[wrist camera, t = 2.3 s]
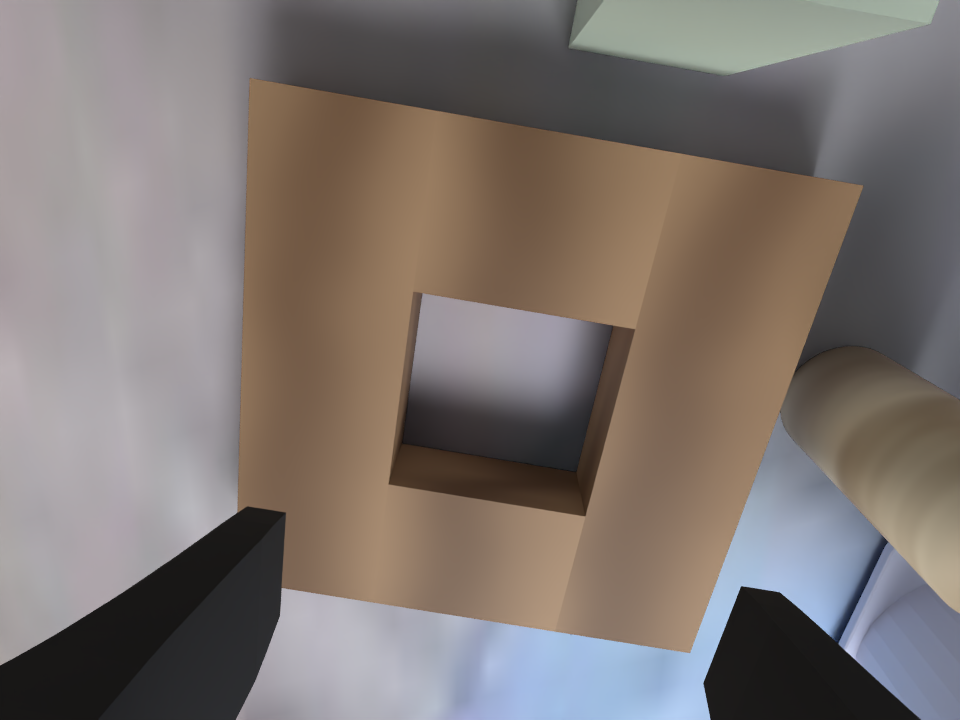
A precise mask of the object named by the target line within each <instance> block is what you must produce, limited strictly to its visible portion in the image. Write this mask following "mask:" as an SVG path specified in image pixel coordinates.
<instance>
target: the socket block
mask: <svg viewBox="0 0 960 720" xmlns="http://www.w3.org/2000/svg"><path fill="white" fill-rule="evenodd" d="M862 189H863V186H862V185H857V184H851V183H845V182H840V181H834V180H828V179H823V178H817V177H811V176H805V175H800V174H794V173H788V172H783V171H777V170H771V169H766V168H760V167H754V166H748V165H743V164H737V163H731V162H726V161H720V160H714V159H708V158H703V157H697V156H691V155H686V154H680V153H674V152H669V151H663V150H657V149H651V148H646V147H640V146H634V145H629V144H623V143H617V142H612V141H606V140H600V139H594V138H589V137H583V136H577V135H572V134H566V133H560V132H554V131H549V130H543V129H537V128H532V127H526V126H520V125H515V124H509V123H503V122H497V121H492V120H486V119H480V118H475V117H469V116H463V115H458V114H452V113H446V112H440V111H435V110H429V109H423V108H418V107H412V106H406V105H401V104H395V103H389V102H383V101H378V100H372V99H366V98H361V97H355V96H349V95H343V94H338V93H332V92H326V91H321V90H315V89H309V88H304V87H298V86H292V85H286V84H281V83H275V82H269V81H264V80H258V79H252V78H250V86H249V121H248V157H247V192H246V228H245V263H244V299H243V335H242V370H241V406H240V441H239V477H238V512H239V511H241V510H242V509H244V508H245V507H247V506H249V507H255V508H262V509H268V510H274V511H280V512H286V523H285V539H284V556H283V572H282V588H286V589H292V590H298V591H305V592H311V593H317V594H323V595H330V596H336V597H342V598H348V599H355V600H361V601H367V602H373V603H380V604H386V605H392V606H399V607H405V608H411V609H417V610H424V611H430V612H436V613H442V614H449V615H455V616H461V617H467V618H474V619H480V620H486V621H492V622H499V623H505V624H511V625H518V626H524V627H530V628H536V629H543V630H549V631H555V632H561V633H568V634H574V635H580V636H586V637H593V638H599V639H605V640H611V641H618V642H624V643H630V644H637V645H643V646H649V647H655V648H662V649H668V650H674V651H680V652H687V653H690V651H691V649H692V646H693V643H694V641H695V638H696V635H697V633H698V630H699V627H700V625H701V622H702V619H703V616H704V614H705V611H706V608H707V606H708V603H709V600H710V598H711V595H712V592H713V590H714V587H715V584H716V581H717V579H718V576H719V573H720V571H721V568H722V565H723V563H724V560H725V557H726V555H727V552H728V549H729V547H730V544H731V541H732V538H733V536H734V533H735V530H736V528H737V525H738V522H739V520H740V517H741V514H742V512H743V509H744V506H745V503H746V501H747V498H748V495H749V493H750V490H751V487H752V485H753V482H754V479H755V477H756V474H757V471H758V469H759V466H760V463H761V460H762V458H763V455H764V452H765V450H766V447H767V444H768V442H769V439H770V436H771V434H772V431H773V428H774V425H775V423H776V420H777V417H778V415H779V412H780V409H781V407H782V404H783V401H784V399H785V396H786V393H787V391H788V388H789V385H790V382H791V380H792V377H793V374H794V372H795V369H796V366H797V364H798V361H799V358H800V356H801V353H802V350H803V347H804V345H805V342H806V339H807V337H808V334H809V331H810V329H811V326H812V323H813V321H814V318H815V315H816V313H817V310H818V307H819V304H820V302H821V299H822V296H823V294H824V291H825V288H826V286H827V283H828V280H829V278H830V275H831V272H832V269H833V267H834V264H835V261H836V259H837V256H838V253H839V251H840V248H841V245H842V243H843V240H844V237H845V235H846V232H847V229H848V226H849V224H850V221H851V218H852V216H853V213H854V210H855V208H856V205H857V202H858V200H859V197H860V194H861V191H862ZM422 293H425V294H430V295H436V296H442V297H448V298H454V299H460V300H466V301H472V302H478V303H484V304H489V305H495V306H501V307H507V308H513V309H519V310H525V311H531V312H537V313H543V314H548V315H554V316H560V317H566V318H572V319H578V320H584V321H590V322H596V323H602V324H607V325H613V329H612V333H611V337H610V341H609V345H608V349H607V353H606V357H605V361H604V365H603V369H602V373H601V377H600V381H599V385H598V389H597V392H596V396H595V400H594V404H593V408H592V412H591V416H590V420H589V424H588V428H587V432H586V436H585V440H584V444H583V448H582V452H581V456H580V460H579V464H578V468H577V472H572V471H565V470H559V469H553V468H547V467H541V466H535V465H529V464H523V463H517V462H511V461H505V460H499V459H493V458H487V457H481V456H474V455H468V454H462V453H456V452H450V451H444V450H438V449H432V448H426V447H420V446H414V445H408V444H402V440H403V433H404V425H405V418H406V411H407V403H408V396H409V388H410V381H411V373H412V366H413V358H414V351H415V343H416V336H417V328H418V321H419V313H420V306H421V299H422ZM238 512H237V513H238Z"/></svg>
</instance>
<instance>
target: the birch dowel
mask: <svg viewBox="0 0 960 720" xmlns="http://www.w3.org/2000/svg"><path fill="white" fill-rule="evenodd" d="M781 419H782V422H783V425H784V427H785V429H786V431H787V433H788V434H789V435H790V437H791V438H792V439H793V440H794V441H795V442H796V443H797V444H798V445H799V446H800V448H801V449H802V450H803V451H804V452H805V453H806V454H807V455H808V456H809V457H810V458H811V459H812V460H813V461H814V463H815V464H816V465H817V466H818V467H819V468H820V469H821V470H822V471H823V472H824V473H825V474H826V475H827V476H828V478H829V479H830V480H831V481H832V482H833V483H834V484H835V485H836V486H837V487H838V488H839V489H840V490H841V492H842V493H843V494H844V495H845V496H846V497H847V498H848V499H849V500H850V501H851V502H852V503H853V504H854V505H855V507H856V508H857V509H858V510H859V511H860V512H861V513H862V514H863V515H864V516H865V517H866V518H867V519H868V520H869V522H870V523H871V524H872V525H873V526H874V527H875V528H876V529H877V530H878V531H879V532H880V533H881V534H882V536H883V537H884V538H885V539H886V540H887V541H888V542H889V543H890V544H891V545H892V546H893V547H894V548H895V549H896V551H897V552H898V553H899V554H900V555H901V556H902V557H903V558H904V559H905V560H906V561H907V562H908V563H909V564H910V566H911V567H912V568H913V569H914V570H915V571H916V572H917V573H918V574H919V575H920V576H921V577H922V578H923V579H924V581H925V582H926V583H927V584H928V585H929V586H930V587H931V588H932V589H933V590H934V591H935V592H936V593H937V595H938V596H939V597H940V598H941V599H942V600H943V601H944V602H945V603H946V604H947V605H948V606H949V607H951V608H952V609H954V610H955V611H956V612H958V613H960V400H959V399H957V398H956V397H954V396H952V395H951V394H949V393H947V392H945V391H944V390H942V389H940V388H939V387H937V386H935V385H934V384H932V383H930V382H929V381H927V380H925V379H923V378H922V377H920V376H918V375H917V374H915V373H913V372H912V371H910V370H908V369H907V368H905V367H903V366H901V365H900V364H898V363H896V362H895V361H893V360H891V359H890V358H888V357H886V356H885V355H883V354H881V353H879V352H878V351H875V350H872V349H869V348H865V347H858V346H846V347H839V348H835V349H831V350H828V351H825V352H823V353H821V354H819V355H817V356H815V357H813V358H812V359H810V360H809V361H807V362H806V363H805V364H804V365H802V366H801V367H800V368H799V369H798V370H797V371H796V372H795V374H794V375H793V377H792V380H791V382H790V385H789V388H788V391H787V393H786V396H785V399H784V401H783V404H782V407H781Z"/></svg>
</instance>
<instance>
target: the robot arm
mask: <svg viewBox="0 0 960 720" xmlns="http://www.w3.org/2000/svg"><path fill="white" fill-rule="evenodd" d="M285 523H286V512H280V511H274V510H268V509H262V508H255V507H249V506H247V507H245V508H244V509H242V510H241V511H239V512H238V513H236V514H235V515H234V516H232V517H231V518H229V519H228V520H226V521H225V522H224V523H222V524H221V525H219V526H218V527H217V528H215V529H214V530H212V531H211V532H210V533H208V534H207V535H205V536H204V537H203V538H201V539H200V540H198V541H197V542H196V543H194V544H193V545H191V546H190V547H189V548H187V549H186V550H184V551H183V552H181V553H180V554H179V555H177V556H176V557H174V558H173V559H172V560H170V561H169V562H167V563H166V564H164V565H163V566H161V567H160V568H158V569H157V570H155V571H154V572H152V573H151V574H150V575H148V576H147V577H145V578H144V579H142V580H141V581H139V582H138V583H136V584H135V585H133V586H132V587H130V588H129V589H127V590H126V591H124V592H123V593H121V594H120V595H118V596H117V597H115V598H114V599H112V600H110V601H109V602H107V603H106V604H104V605H102V606H101V607H99V608H98V609H96V610H94V611H93V612H91V613H90V614H88V615H86V616H85V617H83V618H82V619H80V620H78V621H77V622H75V623H74V624H72V625H70V626H69V627H67V628H66V629H64V630H62V631H61V632H59V633H57V634H56V635H54V636H52V637H51V638H49V639H47V640H45V641H44V642H42V643H40V644H39V645H37V646H35V647H33V648H31V649H30V650H28V651H26V652H24V653H23V654H21V655H19V656H17V657H15V658H14V659H12V660H10V661H8V662H6V663H4V664H2V665H0V720H236V718H237V716H238V714H239V712H240V710H241V708H242V706H243V704H244V702H245V700H246V698H247V696H248V694H249V692H250V690H251V688H252V686H253V684H254V682H255V680H256V678H257V675H258V672H259V670H260V667H261V665H262V662H263V660H264V657H265V654H266V652H267V649H268V647H269V644H270V641H271V638H272V636H273V633H274V630H275V628H276V625H277V622H278V619H279V617H280V605H281V588H282V572H283V556H284V539H285ZM704 688H705V693H706V698H707V703H708V708H709V713H710V718H711V720H960V613H958V612H956V611H955V610H954V609H952V608H951V607H949V606H948V605H947V604H946V603H945V602H944V601H943V600H942V599H941V598H940V597H939V596H938V595H937V593H936V592H935V591H934V590H933V589H932V588H931V587H930V586H929V585H928V584H927V583H926V582H925V581H924V579H923V578H922V577H921V576H920V575H919V574H918V573H917V572H916V571H915V570H914V569H913V568H912V567H911V566H910V564H909V563H908V562H907V561H906V560H905V559H904V558H903V557H902V556H901V555H900V554H899V553H898V552H897V551H896V549H895V548H894V547H893V546H892V545H891V544H890V543H889V542H888V543H887V545H886V546H885V548H884V550H883V552H882V554H881V556H880V558H879V560H878V562H877V564H876V566H875V568H874V571H873V573H872V575H871V577H870V579H869V581H868V583H867V585H866V587H865V589H864V591H863V593H862V596H861V598H860V600H859V602H858V604H857V606H856V608H855V610H854V612H853V614H852V616H851V618H850V620H849V623H848V625H847V627H846V629H845V631H844V633H843V635H842V637H841V639H840V641H839V643H837V642H835V641H834V640H833V639H832V638H831V637H830V636H829V635H828V634H827V633H826V632H825V631H823V630H822V629H821V628H820V627H819V626H818V625H817V624H816V623H815V622H814V621H812V620H811V619H810V618H809V617H808V616H807V615H806V614H805V613H803V612H802V611H801V610H800V609H799V608H798V607H797V606H795V605H794V604H793V603H792V602H791V601H789V600H788V599H787V598H786V597H785V596H783V595H782V594H781V593H780V592H774V591H768V590H762V589H755V588H749V587H743V586H741V588H740V591H739V593H738V596H737V599H736V601H735V604H734V606H733V609H732V611H731V614H730V617H729V619H728V622H727V624H726V627H725V629H724V632H723V634H722V637H721V640H720V642H719V645H718V647H717V650H716V652H715V655H714V657H713V660H712V663H711V665H710V668H709V670H708V673H707V675H706V678H705V680H704Z"/></svg>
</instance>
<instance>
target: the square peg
mask: <svg viewBox="0 0 960 720" xmlns="http://www.w3.org/2000/svg"><path fill="white" fill-rule="evenodd" d="M938 3H939V0H577V5H576V11H575V16H574V21H573V26H572V31H571V37H570V42H569V47H568V48H570V49H576V50H581V51H587V52H593V53H598V54H604V55H609V56H615V57H621V58H626V59H632V60H638V61H643V62H649V63H654V64H660V65H666V66H671V67H677V68H682V69H688V70H694V71H699V72H705V73H711V74H716V75H722V76H727V75H731V74H735V73H739V72H743V71H747V70H751V69H755V68H758V67H762V66H766V65H770V64H774V63H778V62H782V61H786V60H790V59H794V58H798V57H802V56H806V55H810V54H814V53H818V52H822V51H826V50H830V49H834V48H838V47H842V46H846V45H850V44H854V43H858V42H862V41H865V40H869V39H873V38H877V37H881V36H885V35H889V34H893V33H897V32H901V31H905V30H909V29H913V28H917V27H921V26H925V25H929V24H931V21H932V19H933V16H934V13H935V11H936V8H937V5H938Z"/></svg>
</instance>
